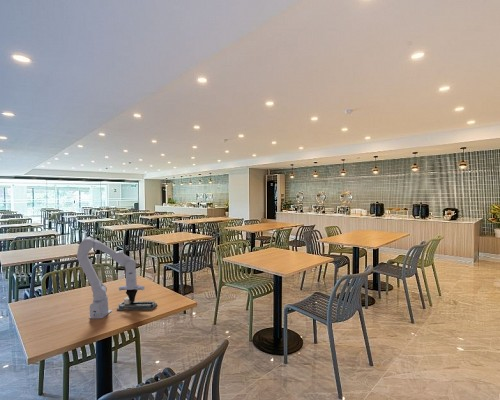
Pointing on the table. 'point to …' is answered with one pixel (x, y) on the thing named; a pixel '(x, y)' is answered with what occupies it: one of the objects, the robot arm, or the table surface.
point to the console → (137, 306)
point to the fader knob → (127, 301)
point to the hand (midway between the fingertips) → (132, 302)
